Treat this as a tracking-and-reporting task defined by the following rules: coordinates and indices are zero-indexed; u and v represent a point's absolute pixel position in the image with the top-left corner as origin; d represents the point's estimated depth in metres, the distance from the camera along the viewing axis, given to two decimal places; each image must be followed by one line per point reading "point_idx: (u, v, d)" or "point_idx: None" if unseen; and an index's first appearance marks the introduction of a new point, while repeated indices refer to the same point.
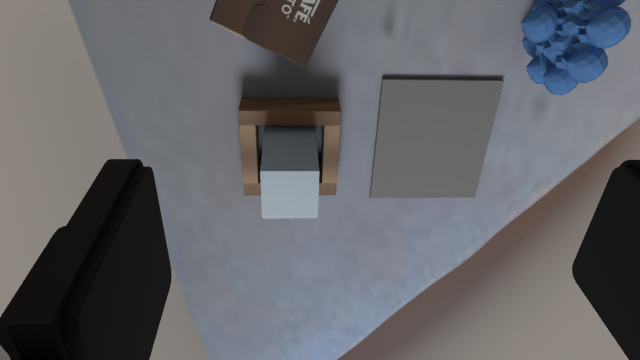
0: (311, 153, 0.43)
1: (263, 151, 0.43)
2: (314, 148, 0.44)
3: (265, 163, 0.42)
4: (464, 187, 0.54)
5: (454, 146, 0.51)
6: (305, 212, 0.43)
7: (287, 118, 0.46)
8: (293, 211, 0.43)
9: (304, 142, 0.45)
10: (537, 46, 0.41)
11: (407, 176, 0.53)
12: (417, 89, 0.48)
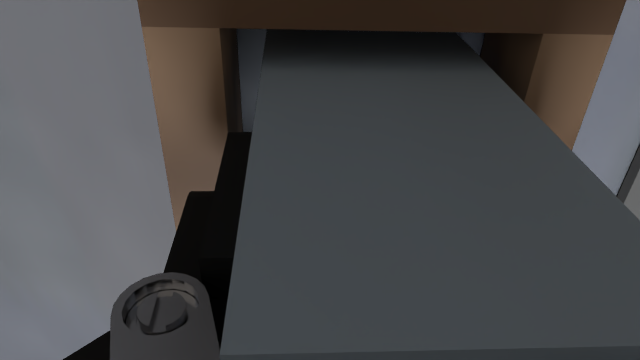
0: (551, 171, 0.07)
1: (256, 159, 0.07)
2: (548, 141, 0.08)
3: (267, 260, 0.05)
4: None
5: None
6: None
7: None
8: None
9: (469, 108, 0.09)
10: None
11: None
12: None
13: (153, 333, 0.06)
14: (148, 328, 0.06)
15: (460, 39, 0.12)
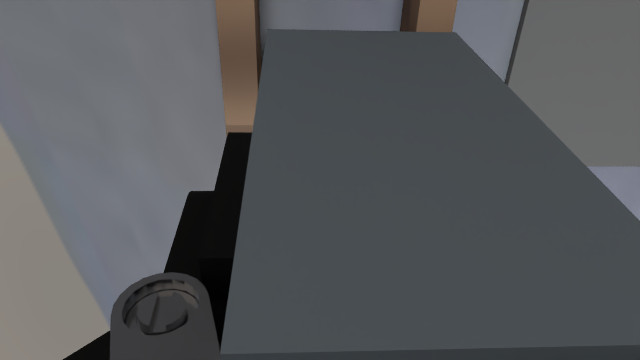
0: (550, 171, 0.07)
1: (256, 159, 0.07)
2: (548, 141, 0.08)
3: (266, 260, 0.05)
4: None
5: None
6: None
7: None
8: None
9: (469, 108, 0.09)
10: None
11: (571, 120, 0.25)
12: None
13: (153, 333, 0.06)
14: (148, 328, 0.06)
15: (460, 39, 0.12)
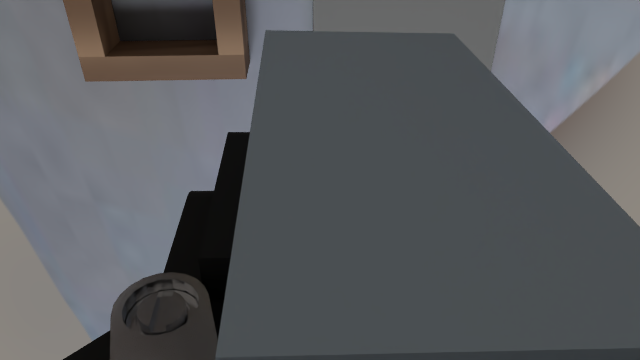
0: (547, 173, 0.07)
1: (253, 161, 0.07)
2: (545, 143, 0.08)
3: (264, 263, 0.05)
4: None
5: None
6: None
7: None
8: None
9: (467, 110, 0.09)
10: None
11: None
12: None
13: (153, 333, 0.06)
14: (148, 328, 0.06)
15: (458, 40, 0.12)
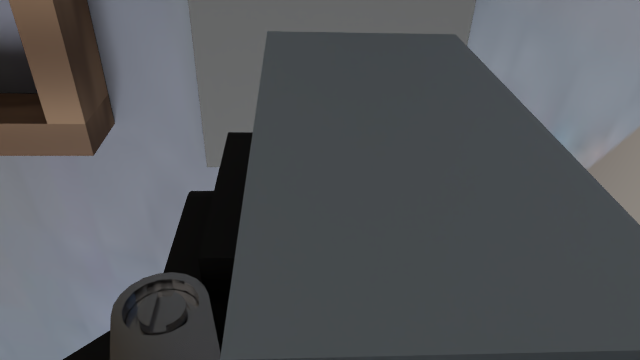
0: (551, 174, 0.07)
1: (256, 162, 0.07)
2: (548, 144, 0.08)
3: (267, 264, 0.05)
4: None
5: None
6: None
7: None
8: None
9: (469, 111, 0.09)
10: None
11: None
12: None
13: (153, 333, 0.06)
14: (148, 328, 0.06)
15: (460, 41, 0.12)
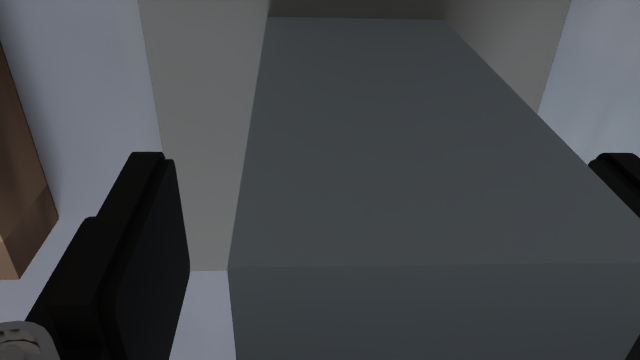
0: (520, 133, 0.08)
1: (257, 124, 0.08)
2: (520, 110, 0.09)
3: (266, 200, 0.06)
4: None
5: None
6: None
7: None
8: None
9: (451, 83, 0.10)
10: None
11: None
12: None
13: None
14: None
15: (447, 26, 0.13)
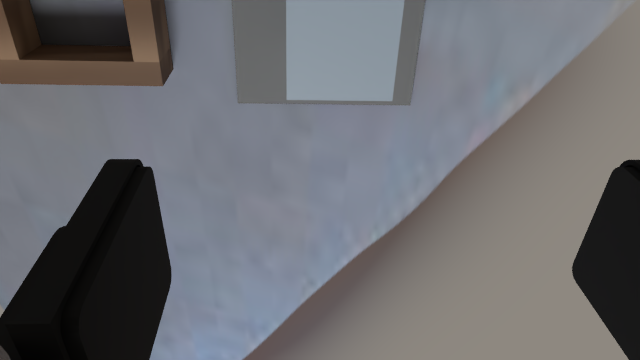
0: None
1: None
2: None
3: None
4: None
5: None
6: (370, 87, 0.23)
7: None
8: (346, 85, 0.22)
9: None
10: None
11: None
12: None
13: None
14: None
15: None
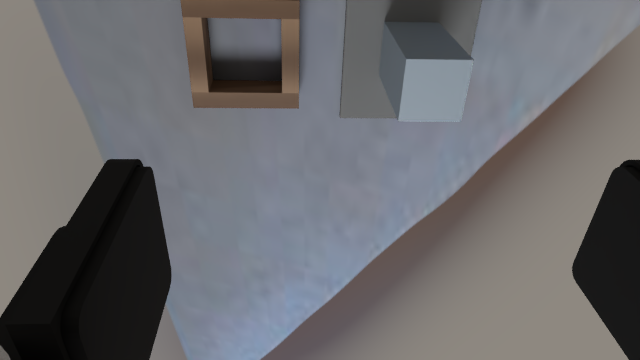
0: (454, 46, 0.38)
1: (399, 44, 0.38)
2: (455, 43, 0.39)
3: (408, 53, 0.36)
4: None
5: None
6: (448, 114, 0.38)
7: (237, 9, 0.40)
8: (434, 112, 0.38)
9: (440, 38, 0.40)
10: None
11: (381, 92, 0.47)
12: None
13: None
14: None
15: (440, 24, 0.43)
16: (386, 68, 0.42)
